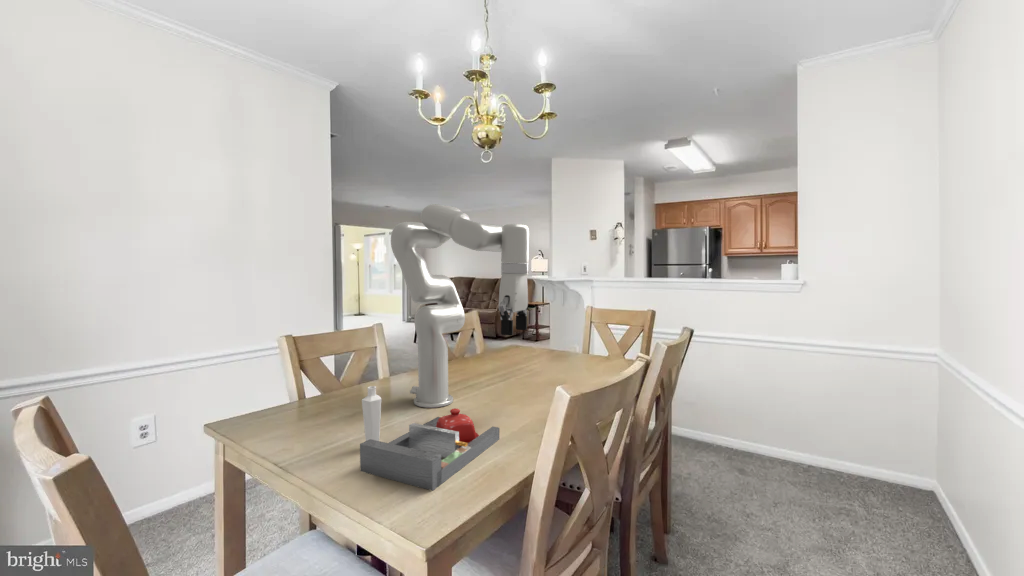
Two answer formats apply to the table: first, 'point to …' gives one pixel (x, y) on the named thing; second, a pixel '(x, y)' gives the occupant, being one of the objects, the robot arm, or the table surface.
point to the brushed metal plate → (434, 439)
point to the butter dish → (458, 425)
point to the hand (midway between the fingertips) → (514, 332)
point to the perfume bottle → (372, 414)
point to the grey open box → (420, 459)
